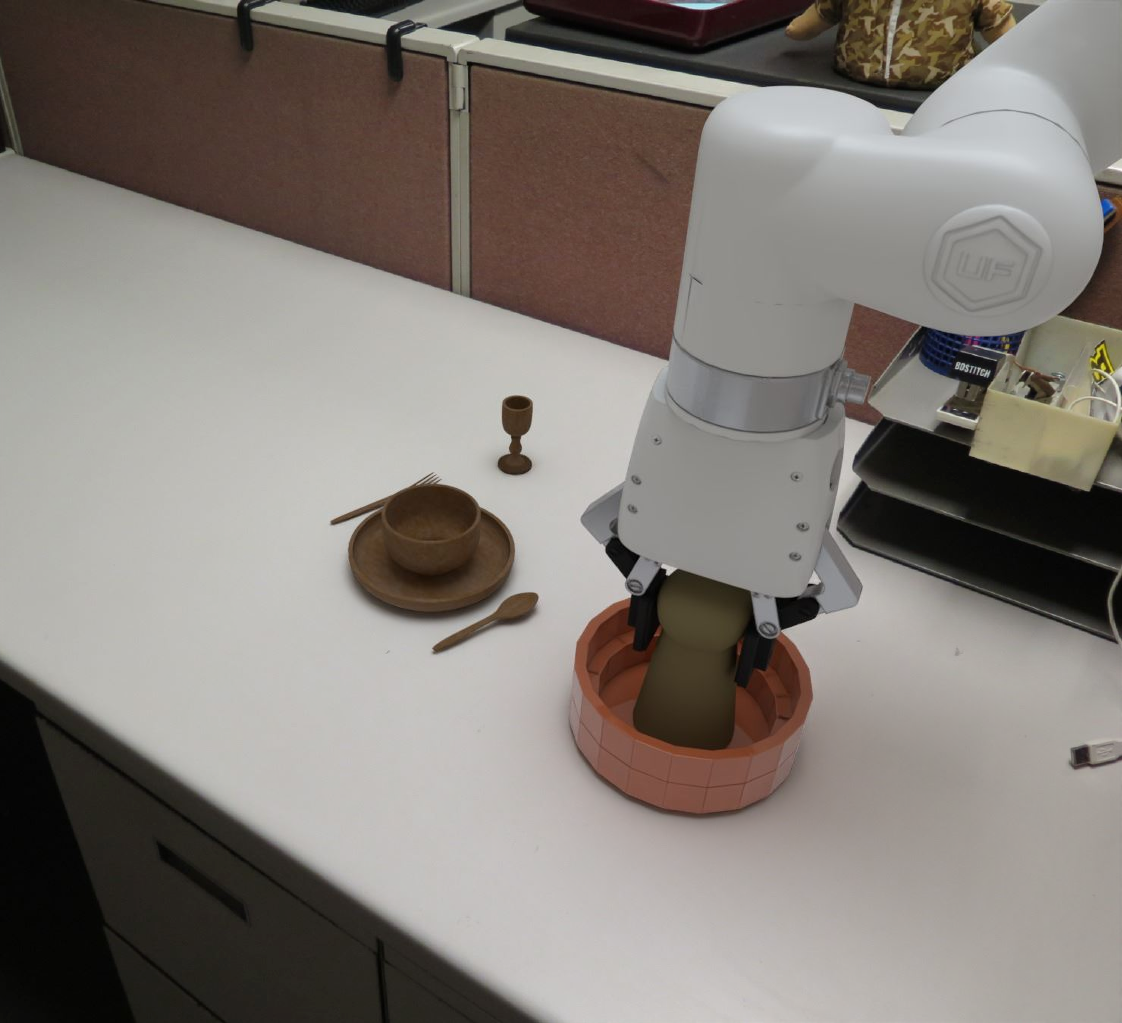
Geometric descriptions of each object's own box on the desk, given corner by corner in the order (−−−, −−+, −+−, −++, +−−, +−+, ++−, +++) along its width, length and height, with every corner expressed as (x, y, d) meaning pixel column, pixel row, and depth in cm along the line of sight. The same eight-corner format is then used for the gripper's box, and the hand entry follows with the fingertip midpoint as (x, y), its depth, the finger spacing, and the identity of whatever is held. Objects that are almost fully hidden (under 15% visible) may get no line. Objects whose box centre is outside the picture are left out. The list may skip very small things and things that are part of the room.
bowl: (817, 692, 66) (834, 634, 63) (762, 855, 56) (779, 795, 53) (615, 623, 71) (622, 567, 68) (533, 762, 61) (538, 703, 58)
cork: (627, 749, 61) (648, 610, 55) (637, 677, 66) (657, 540, 60) (733, 768, 60) (767, 628, 54) (735, 693, 65) (766, 555, 58)
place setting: (301, 529, 79) (294, 465, 76) (514, 448, 88) (517, 387, 84) (425, 668, 68) (424, 599, 64) (657, 559, 76) (667, 493, 73)
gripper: (955, 380, 48) (863, 662, 59) (606, 305, 55) (581, 571, 66) (932, 461, 43) (835, 754, 54) (549, 367, 50) (531, 645, 60)
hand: (696, 651), depth 60 cm, fingers closed on cork, 5 cm apart
